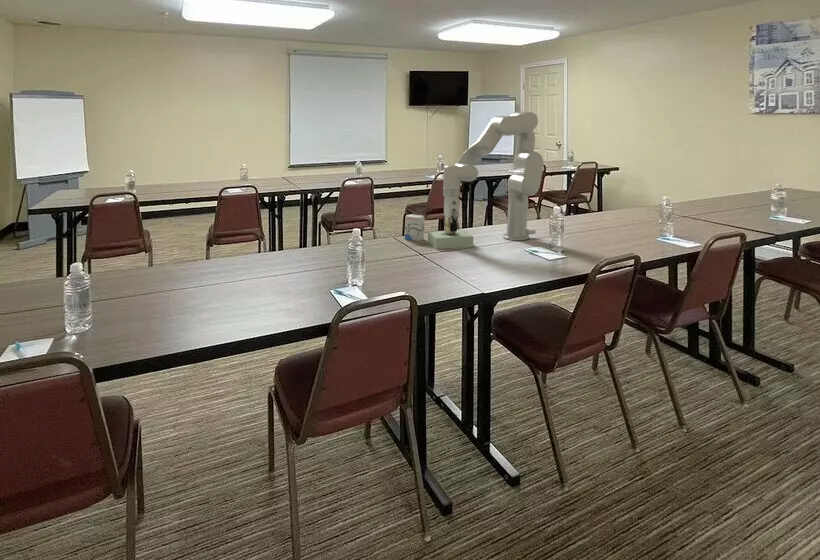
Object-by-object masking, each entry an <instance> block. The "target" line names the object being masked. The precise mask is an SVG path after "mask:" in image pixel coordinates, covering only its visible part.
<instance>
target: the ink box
mask: <svg viewBox="0 0 820 560" xmlns="http://www.w3.org/2000/svg"><path fill="white" fill-rule="evenodd" d="M425 217H426V216H425V215H420V214H412V213H410V214H408V215H405V219H404V220H405V221H404V240H408V241H410V240H411V241H416V242H422V241H423V240H424V239H425Z"/></svg>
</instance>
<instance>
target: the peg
mask: <svg viewBox="0 0 820 560" xmlns="http://www.w3.org/2000/svg"><path fill="white" fill-rule="evenodd" d="M452 220H453V219H452ZM450 223H451V220H450V218H449V217H446V223H445V227H444V229H445V230H444V231H445V234H446V235H455V234H456V231H454V232H451V231H450Z"/></svg>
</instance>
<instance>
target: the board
mask: <svg viewBox="0 0 820 560" xmlns="http://www.w3.org/2000/svg"><path fill="white" fill-rule="evenodd" d="M427 243H428V244H430V245H431V246H432V247H433V248H434V249H435V250H436V249H437V250H438V249H439V250H440V249H455V248H456V249H457V248H460V249H461V248H473V247H474V235H472V234H471V233H469V232H468V231H466V230H465V229H462V230H461V229H460V230H458V229H457V231H456V234H455V235H446V234H445V230H438V231H427Z"/></svg>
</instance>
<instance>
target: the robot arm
mask: <svg viewBox="0 0 820 560" xmlns="http://www.w3.org/2000/svg"><path fill="white" fill-rule="evenodd" d="M538 124H539V118H538V115H537V114H536V113H535V112H532V111H514V112H512V113H511V114H510V115H508V116H507V115H506V116H505V115H498V116H495V117H493V118H492V119H491V120H490V122H488V124H487V125H486V127H485V129H484V130H483V131H482V133H481V134H480V135H479V137H478V139H477V140H476V142H474V143H473V144H472V145H471V146H469V147H468V149H466V150H465V151H464V152H463V153H462V154H461V155H460V156H459V158H458V160H457V161H456V163H455V164H447V165H445V166H444V167H443V182H442V183H443V184H442V185H443V188H442V196H443V197H444V198H443V215H444V219H443V224H444V225H443V227H444V228H445V223H446V217H449V218H450V220H451V223H450V231H451V232H454V231H457V230H458V218H460V200H459V198H460V189H461V186H460V185H461V182H473V181H475V180H477V178H478V177H479V170H478V168H477V167H476V166H475V165H474V164H475V163H476V162H477V161H478V160H479V159H482V158H483V157H486V156H488V155H489V154H491V153H492V152H493V151H494V150H495V148H496V147H497V144H499V142H500V140H501V139H502V138H503V136H504V137H509V136H516V146H515V152H514V158H513V165H514V167H515V169H516V170H518V171H522V172H523V173H521V172H517V173H513V174H511V175H510V176H509V178H508V180H507V192H508V194H507V195H508V200H507V202H508V203H507V204H508V206H507V218H506V219H507V221H506V226H507V227H506V233H504V234H503V236H502V237H503V239H505V240H509V241H526V239H527V240H528V239H530V235H535V234H536V233H537V232H536V230H535V229H532V230H531V229H528V228H527V225H528V213H529V212H528V211H529V198H528V197H530V196H531V197H532V196H534V195H536V194H537V193H538V192H539V189H540V187H541V186H540V185H541V183H542V182H541V181H542V176H543V171H544V158H543V156H542V154H541V153H540V152H537V151H535V146H536V144H535V143H536V134H535V132H534V130H535V129H536V128H537V126H538ZM452 219H453V220H452Z"/></svg>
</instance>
